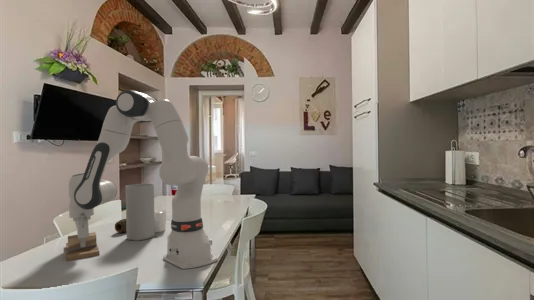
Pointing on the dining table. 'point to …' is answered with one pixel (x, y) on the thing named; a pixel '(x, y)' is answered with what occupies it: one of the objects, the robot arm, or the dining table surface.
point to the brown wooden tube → (121, 226)
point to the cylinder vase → (140, 211)
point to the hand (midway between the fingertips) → (82, 244)
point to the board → (81, 253)
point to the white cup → (160, 220)
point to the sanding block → (75, 242)
